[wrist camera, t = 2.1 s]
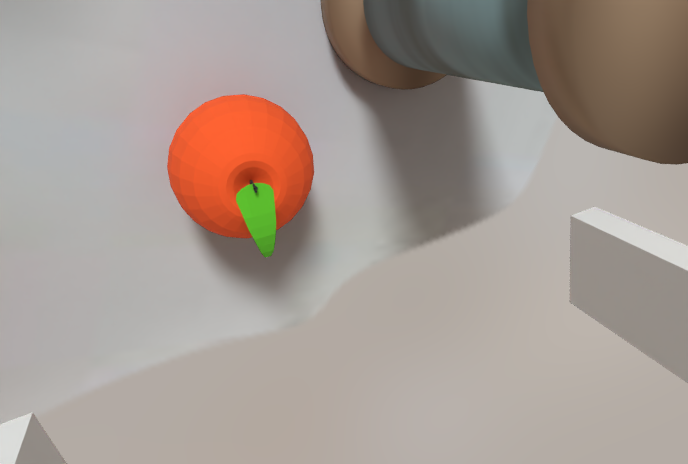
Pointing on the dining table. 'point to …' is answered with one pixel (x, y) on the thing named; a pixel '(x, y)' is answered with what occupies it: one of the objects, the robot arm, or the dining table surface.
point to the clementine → (241, 168)
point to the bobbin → (538, 58)
